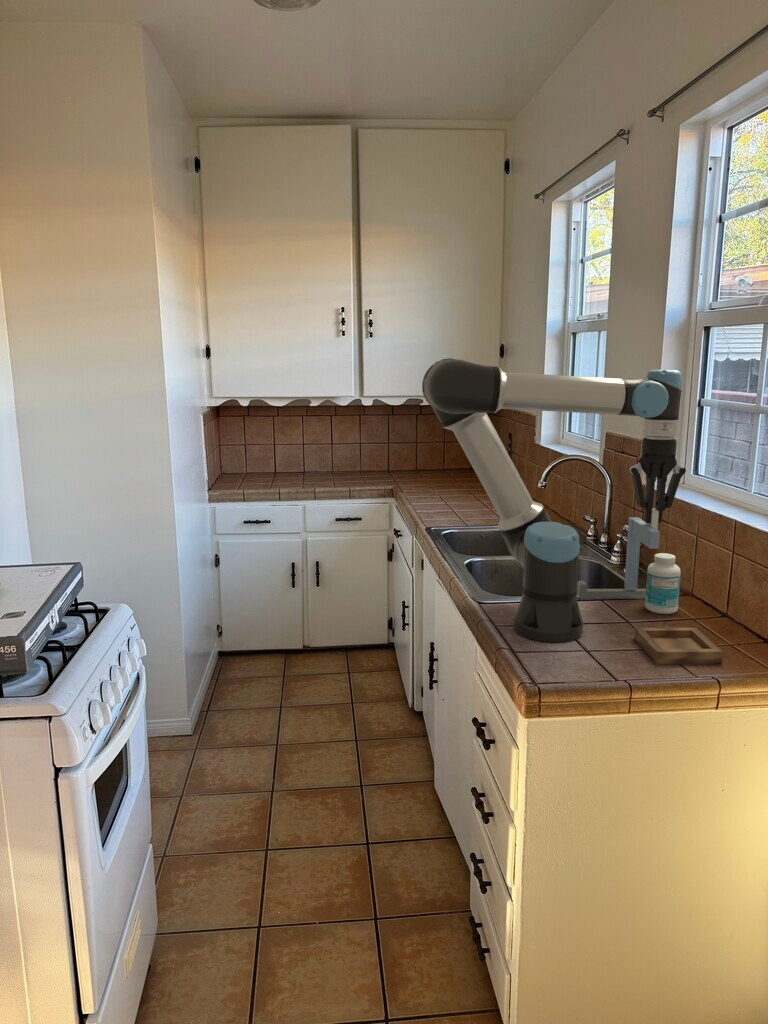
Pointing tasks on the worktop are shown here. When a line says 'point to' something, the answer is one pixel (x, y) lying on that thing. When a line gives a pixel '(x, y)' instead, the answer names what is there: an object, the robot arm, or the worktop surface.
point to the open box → (678, 646)
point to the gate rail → (608, 593)
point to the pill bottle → (663, 584)
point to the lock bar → (638, 548)
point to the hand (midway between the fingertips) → (651, 536)
